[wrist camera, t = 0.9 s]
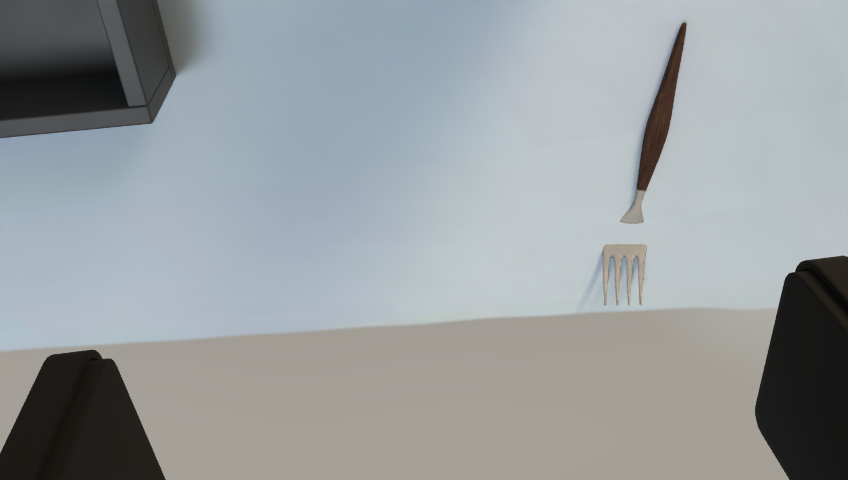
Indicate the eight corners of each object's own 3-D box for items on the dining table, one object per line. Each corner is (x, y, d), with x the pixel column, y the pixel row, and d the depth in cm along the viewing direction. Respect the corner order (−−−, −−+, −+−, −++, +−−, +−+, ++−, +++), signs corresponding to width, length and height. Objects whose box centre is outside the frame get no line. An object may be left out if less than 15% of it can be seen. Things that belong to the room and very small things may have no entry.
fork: (706, 21, 36) (724, 34, 35) (633, 285, 45) (644, 306, 43) (654, 18, 36) (670, 31, 34) (591, 285, 45) (601, 306, 43)
